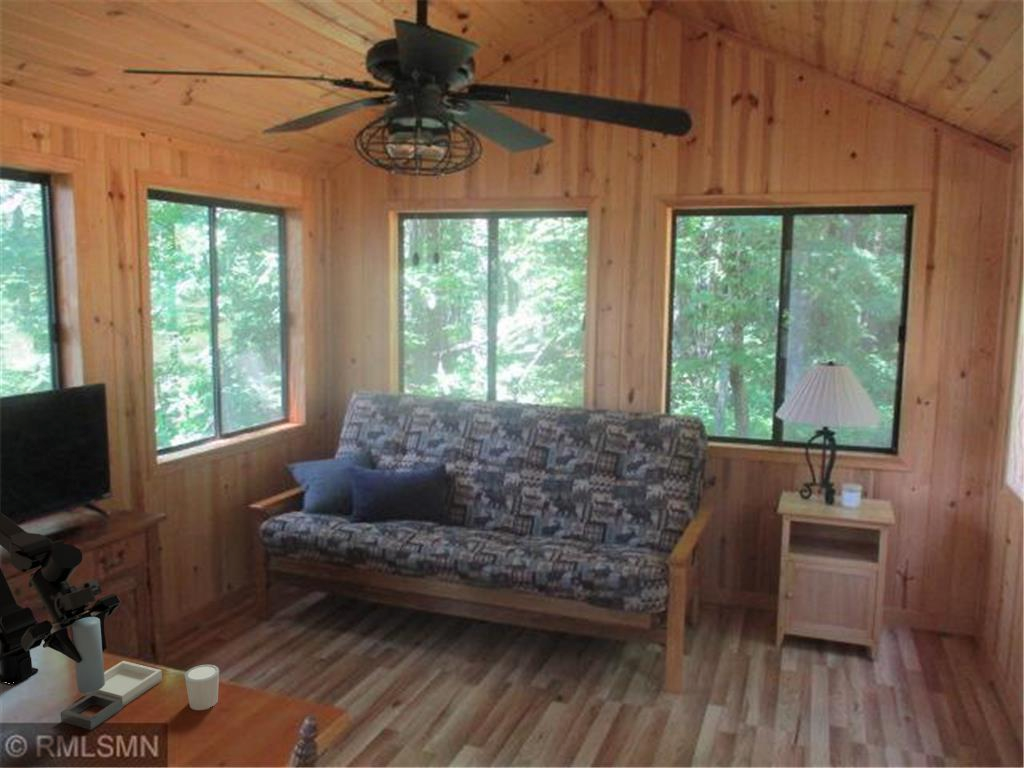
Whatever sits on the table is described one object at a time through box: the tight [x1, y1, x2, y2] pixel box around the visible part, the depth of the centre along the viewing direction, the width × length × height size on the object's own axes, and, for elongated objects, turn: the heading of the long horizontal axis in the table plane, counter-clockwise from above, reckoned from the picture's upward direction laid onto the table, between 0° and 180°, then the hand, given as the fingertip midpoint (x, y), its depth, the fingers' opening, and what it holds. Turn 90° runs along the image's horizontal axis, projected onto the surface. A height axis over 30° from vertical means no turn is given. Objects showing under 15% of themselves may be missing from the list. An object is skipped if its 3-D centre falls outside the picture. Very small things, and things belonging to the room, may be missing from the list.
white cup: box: [184, 664, 220, 711], centre depth 169 cm, size 7×7×7 cm
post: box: [71, 617, 105, 694], centre depth 163 cm, size 5×5×14 cm
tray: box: [82, 660, 163, 707], centre depth 174 cm, size 11×11×2 cm
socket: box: [60, 692, 124, 731], centre depth 165 cm, size 8×8×2 cm
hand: (92, 655), depth 162 cm, fingers closed on post, 5 cm apart
